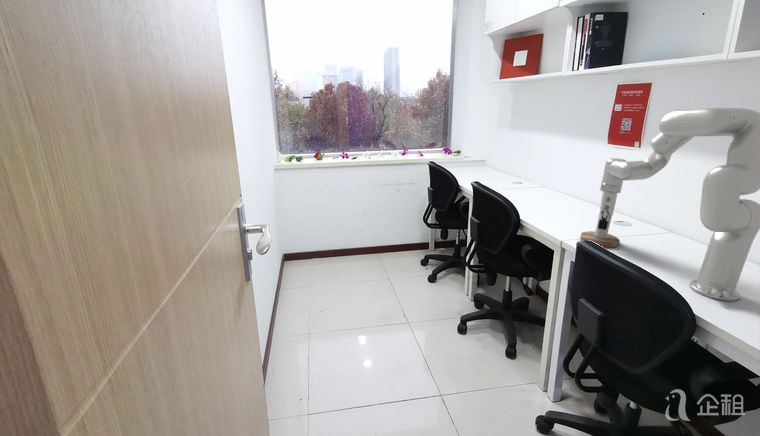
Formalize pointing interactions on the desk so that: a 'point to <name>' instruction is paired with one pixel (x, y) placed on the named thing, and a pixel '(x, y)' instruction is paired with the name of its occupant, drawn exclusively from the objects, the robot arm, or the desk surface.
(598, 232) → the beverage can
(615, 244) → the walnut board
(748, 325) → the desk surface
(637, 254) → the desk surface
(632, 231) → the desk surface
